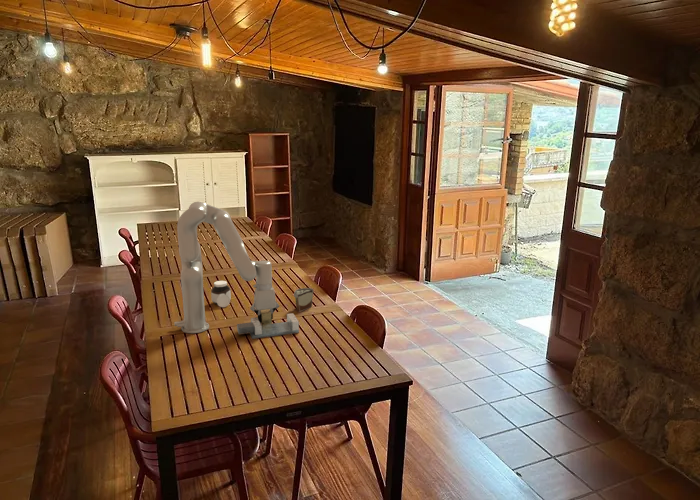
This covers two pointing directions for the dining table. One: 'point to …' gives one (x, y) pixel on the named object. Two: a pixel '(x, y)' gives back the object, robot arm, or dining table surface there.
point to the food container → (303, 298)
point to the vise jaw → (250, 327)
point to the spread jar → (221, 293)
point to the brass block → (265, 317)
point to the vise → (279, 328)
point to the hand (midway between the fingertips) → (265, 320)
